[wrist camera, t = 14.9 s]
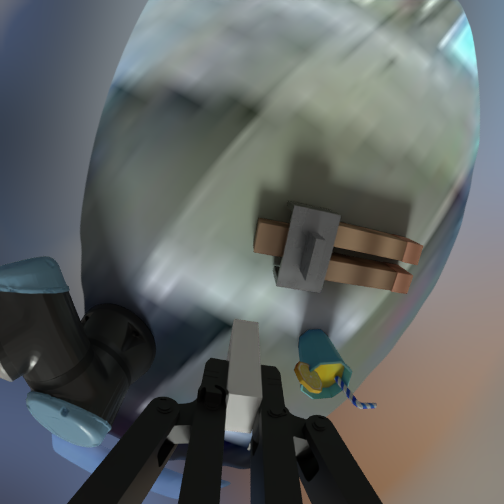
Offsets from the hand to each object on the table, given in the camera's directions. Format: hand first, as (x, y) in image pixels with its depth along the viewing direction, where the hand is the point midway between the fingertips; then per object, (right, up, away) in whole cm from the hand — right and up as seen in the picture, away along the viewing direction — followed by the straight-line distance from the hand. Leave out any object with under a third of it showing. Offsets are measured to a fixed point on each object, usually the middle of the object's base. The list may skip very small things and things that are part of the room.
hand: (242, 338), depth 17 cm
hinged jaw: (+16, +8, +23) cm, 29 cm away
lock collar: (+8, +7, +23) cm, 25 cm away
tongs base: (+13, +5, +24) cm, 28 cm away
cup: (+12, -10, +29) cm, 32 cm away
